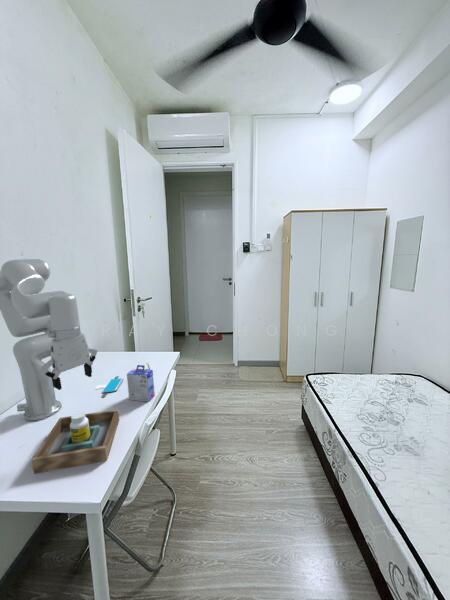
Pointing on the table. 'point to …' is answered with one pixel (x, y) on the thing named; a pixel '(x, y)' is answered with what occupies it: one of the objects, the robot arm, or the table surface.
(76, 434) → the supplement bottle
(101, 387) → the blue flat piece
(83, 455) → the walled box
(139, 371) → the ink cartridge box
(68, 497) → the table surface
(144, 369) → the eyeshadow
